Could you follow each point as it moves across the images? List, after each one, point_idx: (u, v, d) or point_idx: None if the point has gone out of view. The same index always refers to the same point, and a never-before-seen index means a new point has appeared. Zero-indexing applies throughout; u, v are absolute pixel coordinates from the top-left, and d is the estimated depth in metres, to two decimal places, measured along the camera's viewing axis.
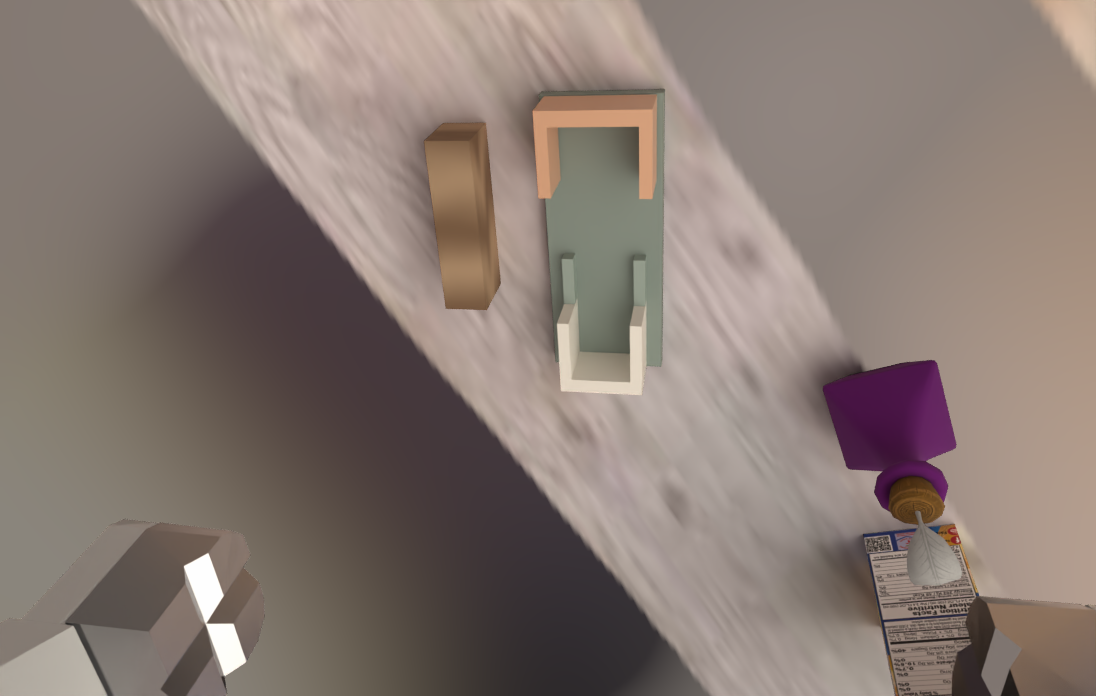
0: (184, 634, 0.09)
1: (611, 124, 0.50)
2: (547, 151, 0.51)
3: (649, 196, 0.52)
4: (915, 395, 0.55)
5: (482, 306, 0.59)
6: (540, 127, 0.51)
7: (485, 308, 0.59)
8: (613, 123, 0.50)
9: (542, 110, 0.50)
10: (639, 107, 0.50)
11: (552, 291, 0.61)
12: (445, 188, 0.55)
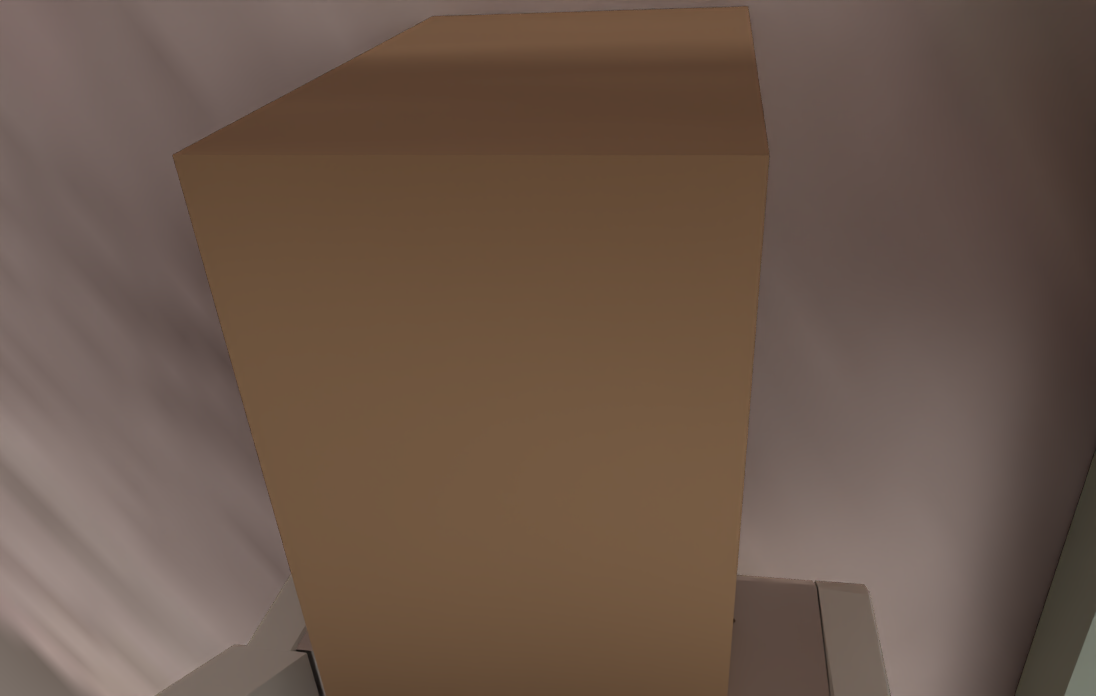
0: None
1: None
2: None
3: None
4: None
5: None
6: None
7: None
8: None
9: None
10: None
11: None
12: (436, 603, 0.06)
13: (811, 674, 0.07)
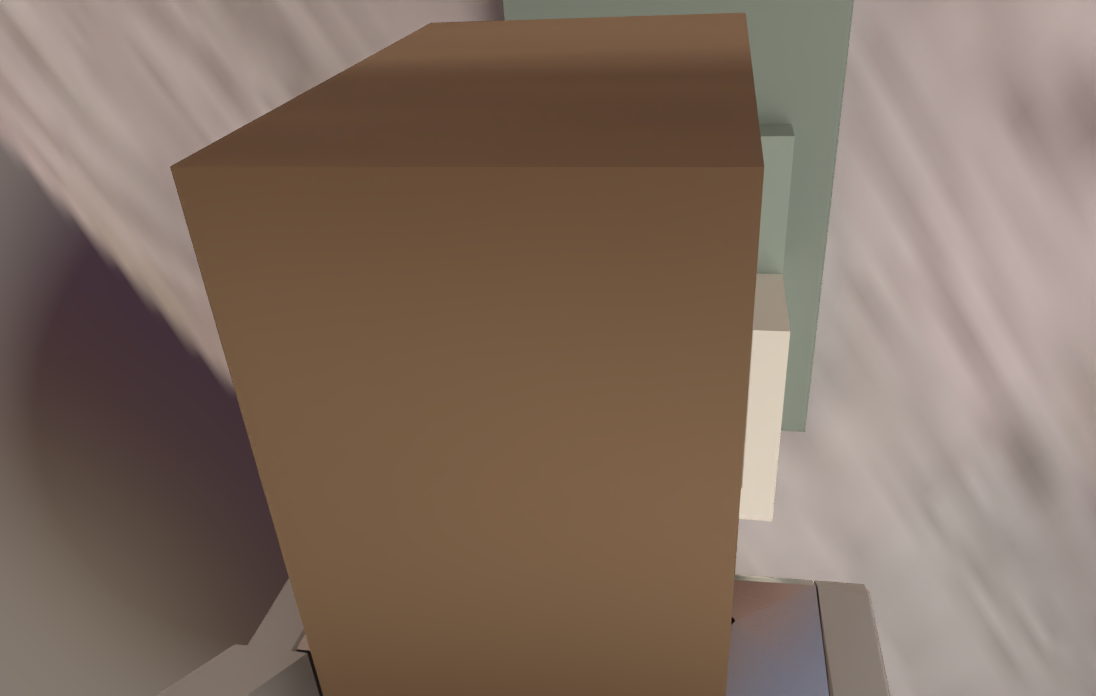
0: None
1: None
2: None
3: None
4: None
5: None
6: None
7: None
8: None
9: None
10: None
11: None
12: (434, 612, 0.06)
13: (811, 674, 0.07)
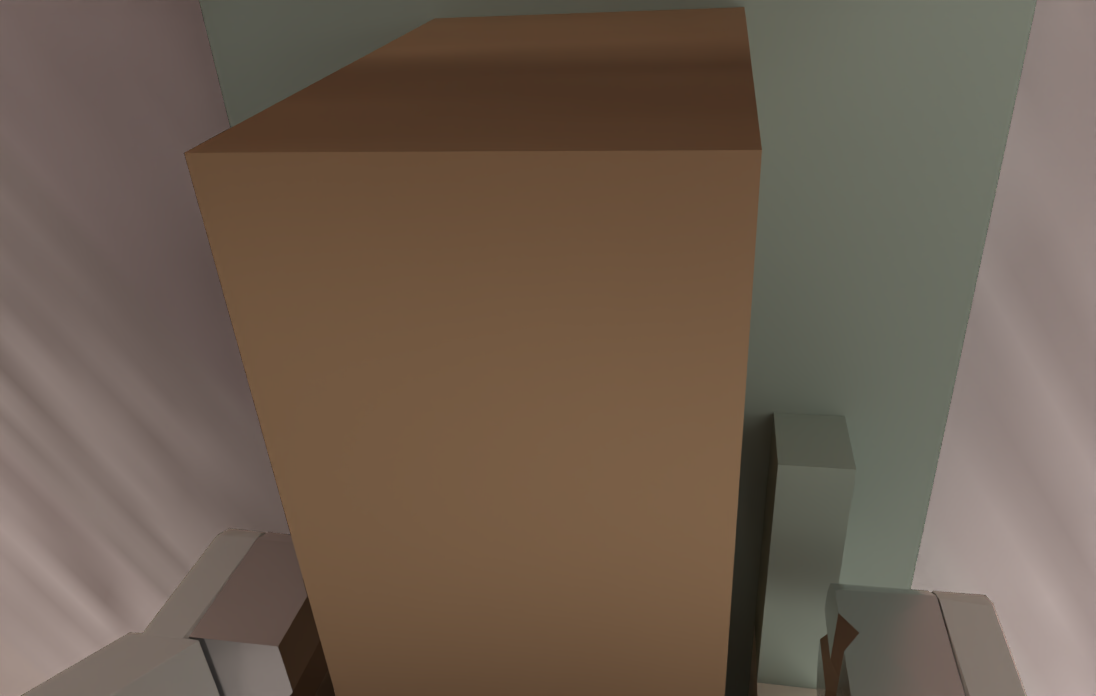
0: (305, 647, 0.09)
1: None
2: None
3: None
4: None
5: None
6: None
7: None
8: None
9: None
10: None
11: None
12: (441, 591, 0.06)
13: (947, 688, 0.07)
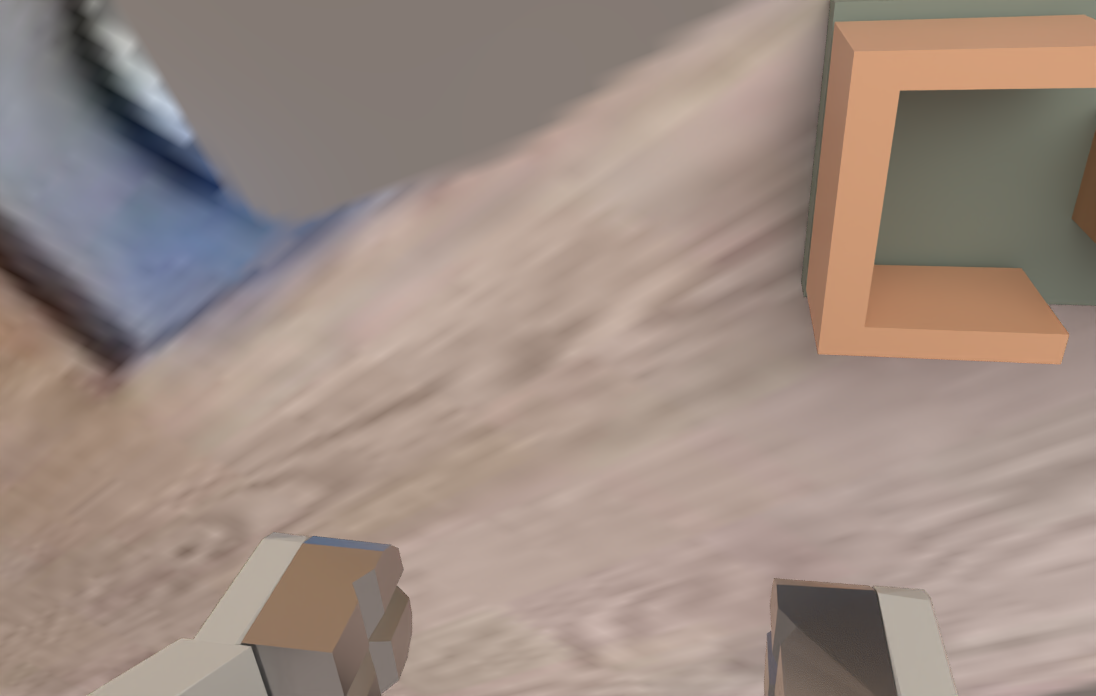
0: (356, 654, 0.08)
1: (881, 167, 0.18)
2: (929, 329, 0.20)
3: None
4: None
5: None
6: (862, 339, 0.20)
7: None
8: (879, 161, 0.18)
9: (819, 330, 0.21)
10: (846, 85, 0.18)
11: None
12: None
13: (878, 681, 0.07)
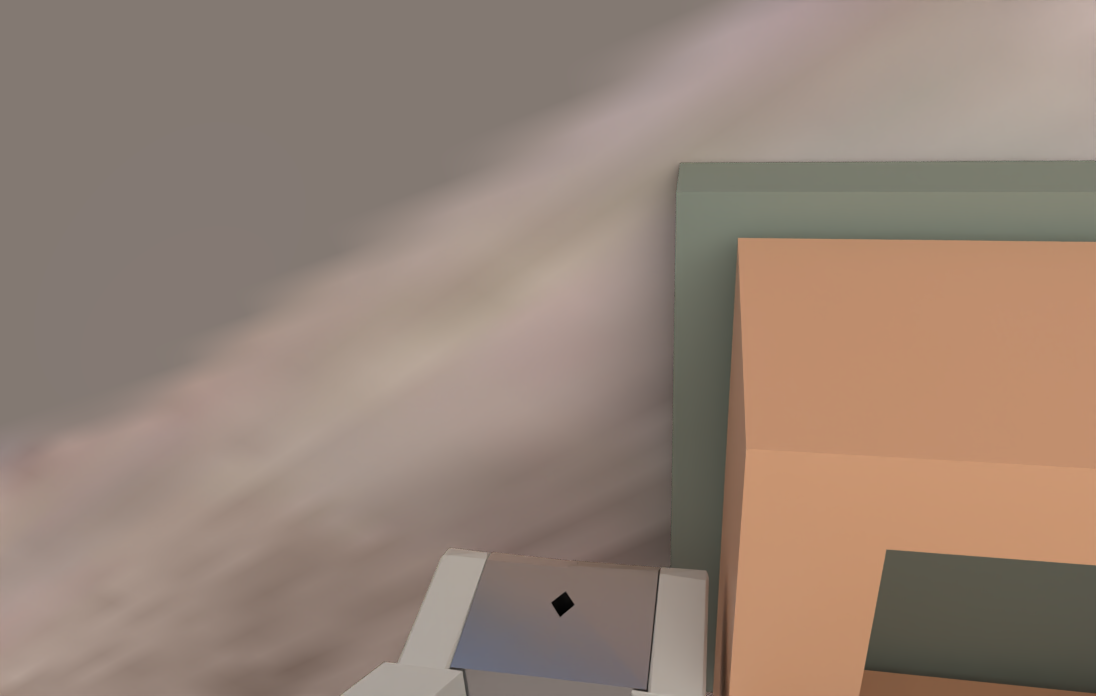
0: None
1: None
2: None
3: None
4: None
5: None
6: None
7: None
8: (832, 689, 0.07)
9: None
10: None
11: None
12: None
13: (635, 655, 0.08)
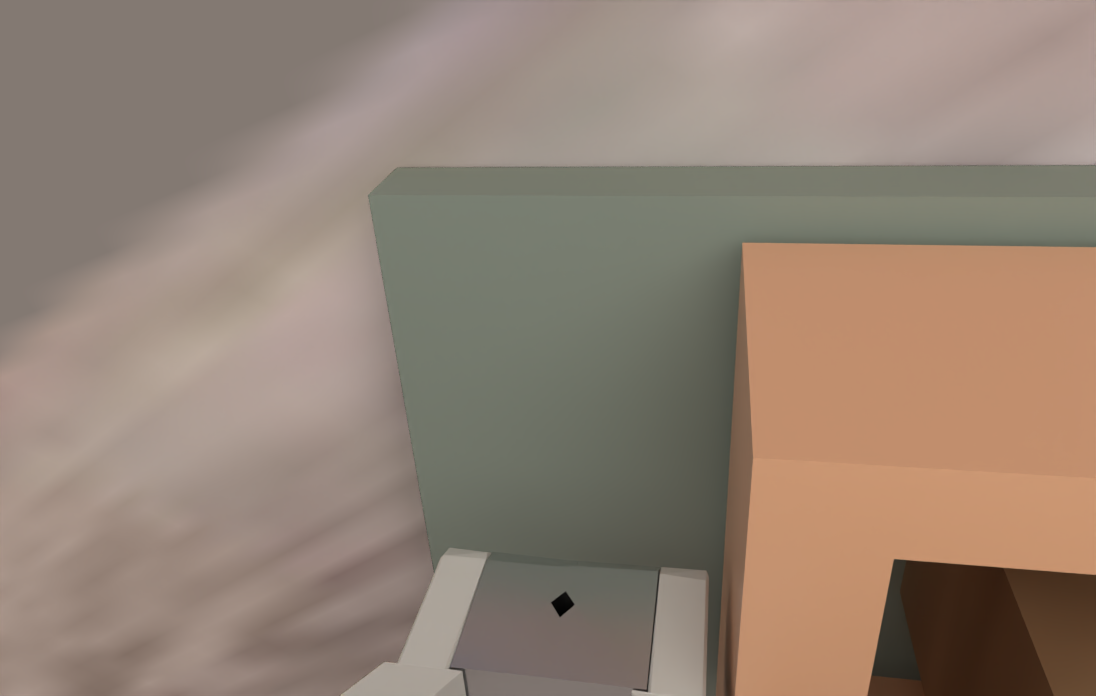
0: None
1: None
2: None
3: None
4: None
5: None
6: None
7: None
8: None
9: None
10: None
11: None
12: None
13: (635, 655, 0.08)
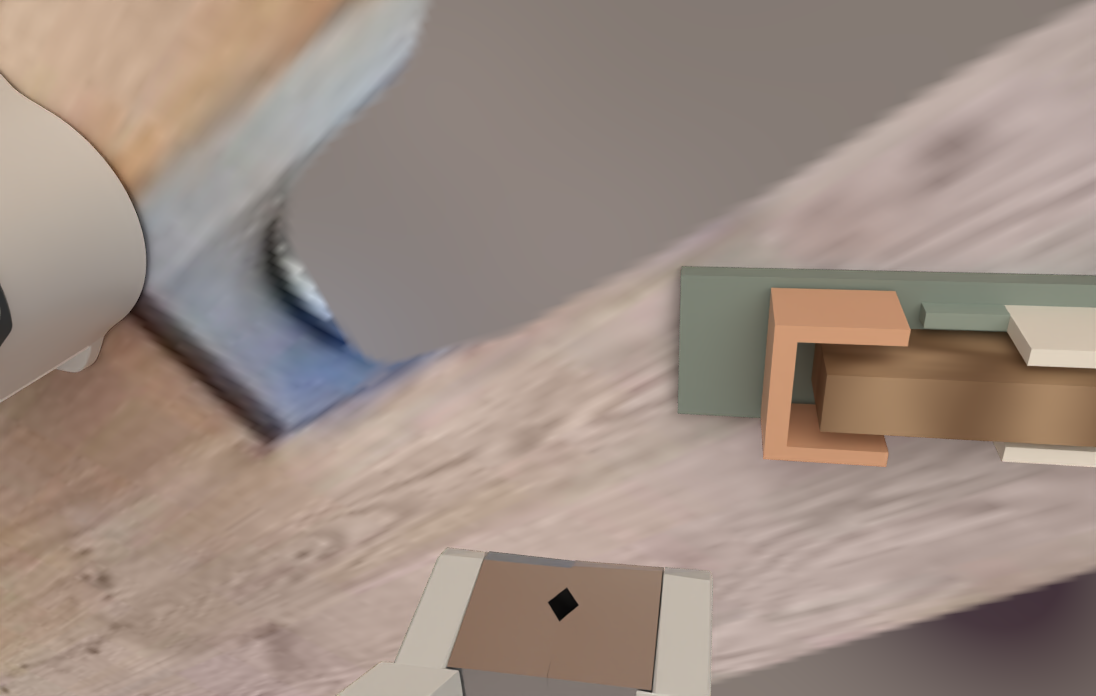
0: None
1: (790, 374, 0.37)
2: (819, 448, 0.39)
3: (905, 333, 0.35)
4: None
5: None
6: (785, 452, 0.39)
7: None
8: (789, 371, 0.37)
9: (764, 447, 0.39)
10: (773, 335, 0.37)
11: None
12: (896, 416, 0.36)
13: (640, 655, 0.08)
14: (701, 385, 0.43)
